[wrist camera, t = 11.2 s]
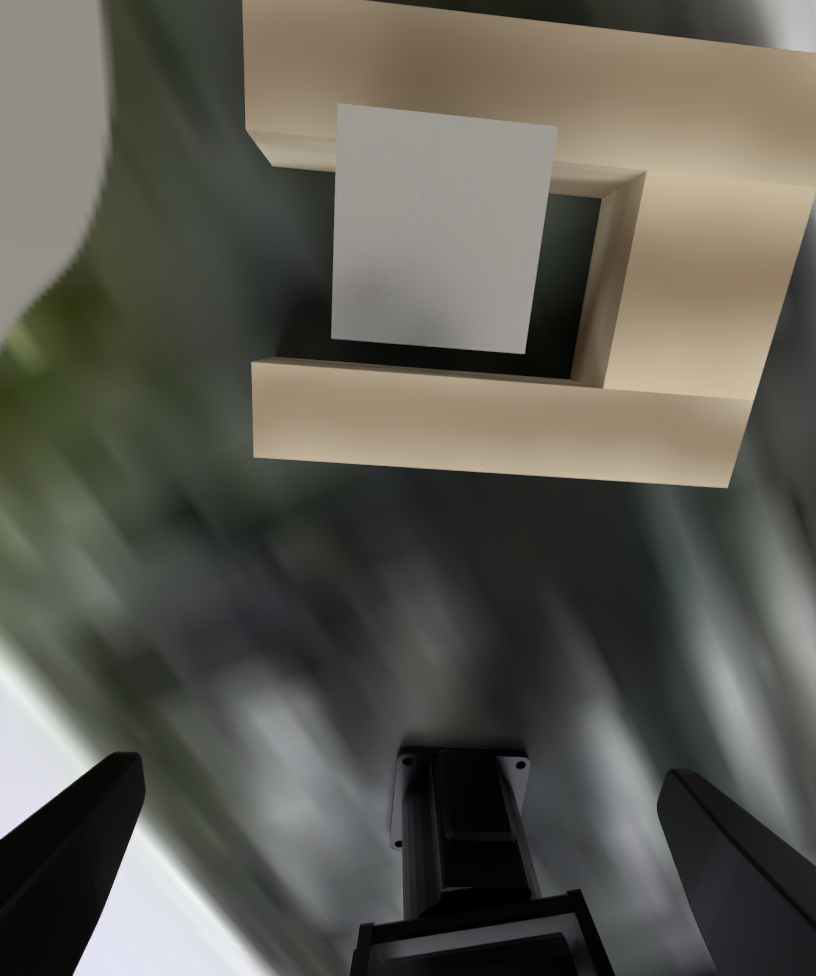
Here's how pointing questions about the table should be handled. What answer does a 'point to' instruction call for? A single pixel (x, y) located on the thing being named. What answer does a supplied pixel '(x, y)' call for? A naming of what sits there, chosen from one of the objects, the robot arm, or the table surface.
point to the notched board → (617, 246)
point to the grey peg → (437, 227)
